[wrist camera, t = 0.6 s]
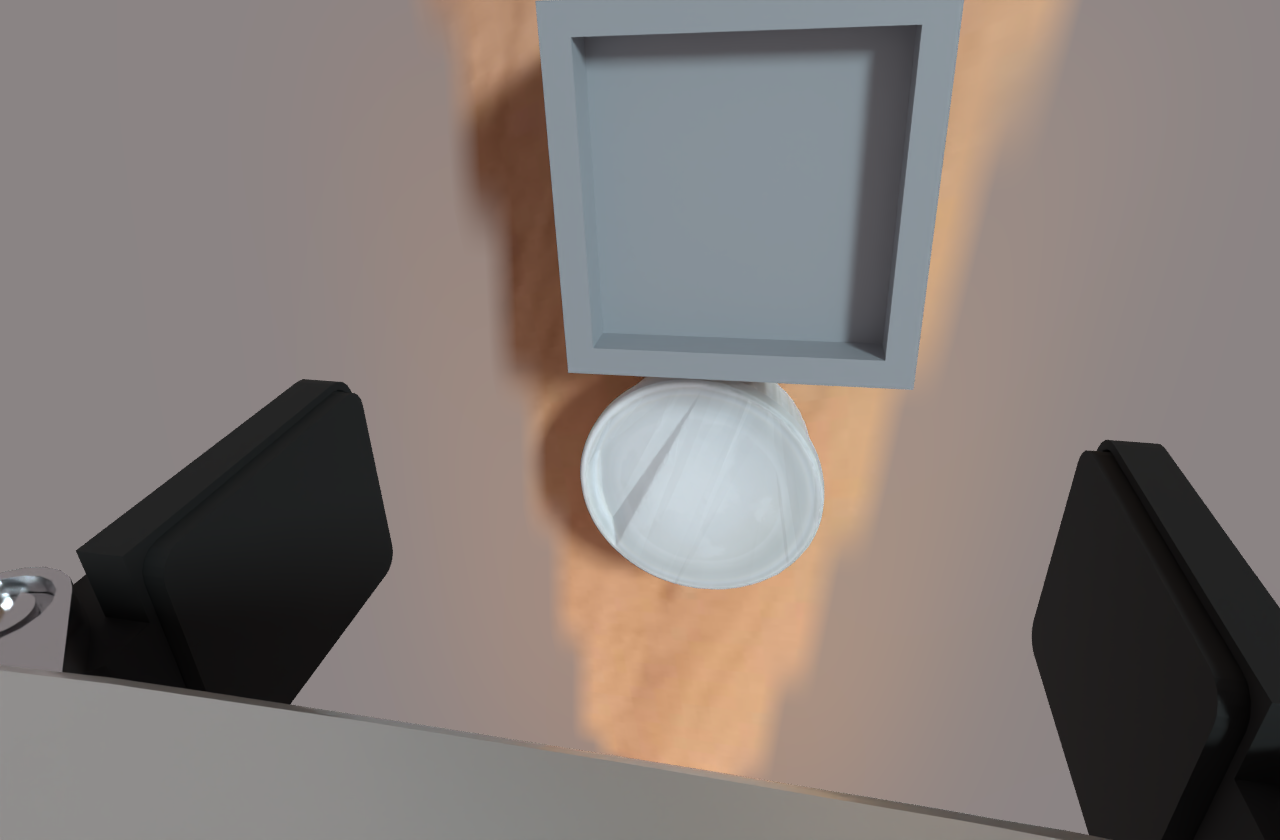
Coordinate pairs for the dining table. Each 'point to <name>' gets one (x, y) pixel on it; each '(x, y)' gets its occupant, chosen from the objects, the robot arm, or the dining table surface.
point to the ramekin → (704, 480)
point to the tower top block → (747, 183)
